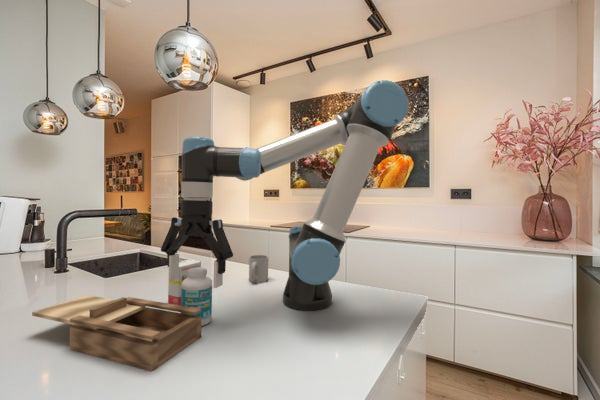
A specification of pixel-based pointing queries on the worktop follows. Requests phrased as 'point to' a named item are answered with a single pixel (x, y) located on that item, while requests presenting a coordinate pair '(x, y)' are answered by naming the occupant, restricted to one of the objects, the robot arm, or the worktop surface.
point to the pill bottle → (198, 293)
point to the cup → (258, 268)
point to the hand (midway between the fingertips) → (195, 283)
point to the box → (139, 334)
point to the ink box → (180, 281)
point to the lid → (89, 310)
